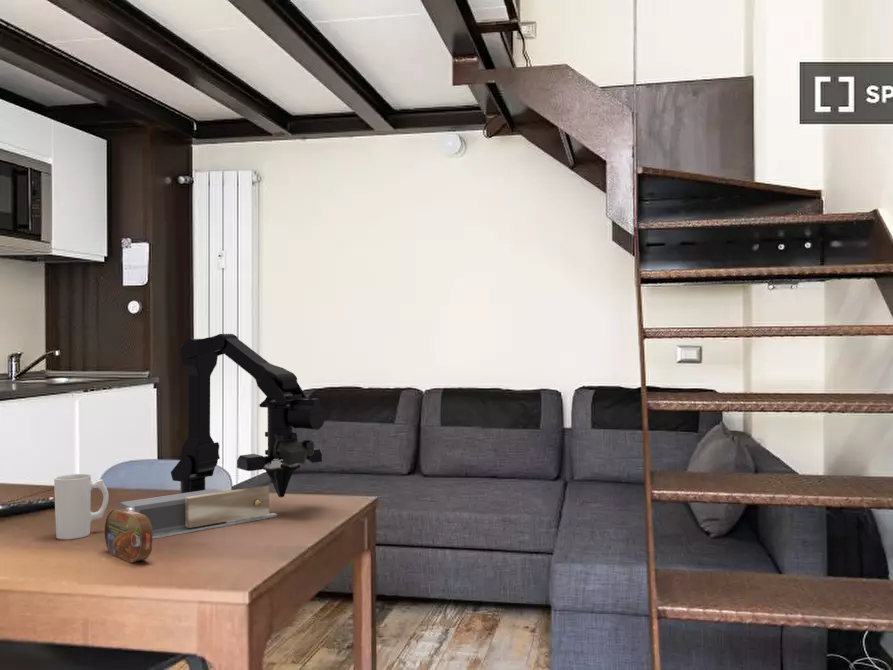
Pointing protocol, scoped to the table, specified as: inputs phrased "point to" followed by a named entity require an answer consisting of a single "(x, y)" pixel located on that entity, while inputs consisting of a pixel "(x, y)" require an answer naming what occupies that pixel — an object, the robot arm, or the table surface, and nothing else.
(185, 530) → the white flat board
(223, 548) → the table surface
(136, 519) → the tin
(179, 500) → the cabinet
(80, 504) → the mug
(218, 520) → the door
